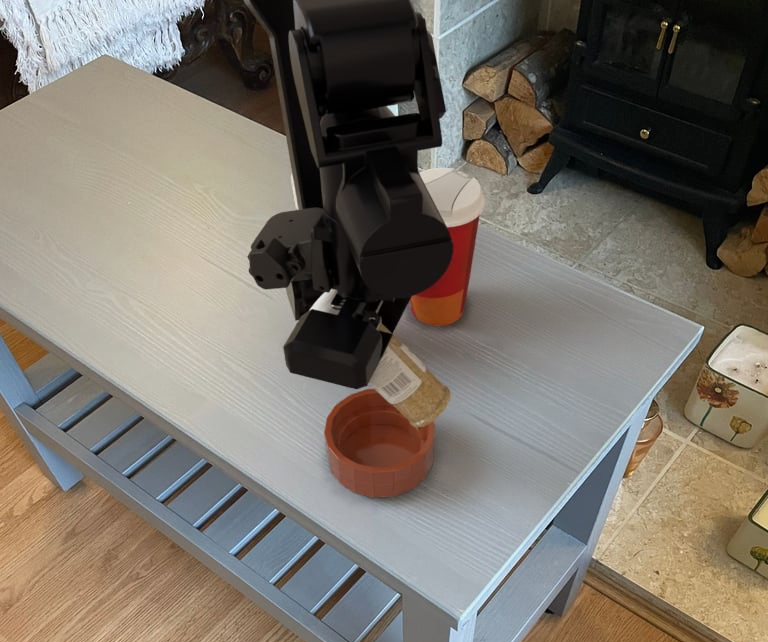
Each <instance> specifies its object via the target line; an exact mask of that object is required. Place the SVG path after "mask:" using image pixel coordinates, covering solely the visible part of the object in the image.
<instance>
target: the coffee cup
mask: <svg viewBox="0 0 768 642" xmlns="http://www.w3.org/2000/svg"><path fill="white" fill-rule="evenodd" d="M419 174H420V176H421V178H422V180H423V182H424V184H425V186H426V188H427V190H428V192H429V194H430V195H431V197H432V199H433V201H434V203H435V205H436V207H437V209H438V211H439V213H440V215H441V217H442V219H443V221H444V222H445V224H446V226H447V228H448V230H449V233H450V235H451V238H452V242H453V256H452V260H451V263H450V265H449V267H448V269H447V271H446V272H445V273H444V274H443V276H442V277H441V278H440V279H439V280H438V281H437V282H436V283H435V284H434V285H433V286H431V287H430V288H428V289H427V290H425V291H423V292H421V293H419V294H416V295H414V296H412V297H411V299H410V307H411V312H412V315H413V316H414V317H415V319H416V320H418V322H420V323H422V324H425V325H427V326H434V327H444V326H449V325H451V324H453V323H455V322H457V321H459V319H460V318H461V317H462V316H463V313H464V311H465V307H466V301H467V296H468V290H469V285H470V279H471V272H472V266H473V259H474V254H475V246H476V240H477V235H478V228H479V222H480V216H481V214H482V212H483V211H484V209H485V205H486V200H485V196H484V194H483V192H482V187H481V185H480V183H479V181H478V180H477V179H476V178H475V176H474V177H470V174H468V173H465V172H463V171H461V170H458V171H456V169H455V168H453V167H432V168H429V169H425V170H422V171H420V172H419Z"/></svg>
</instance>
